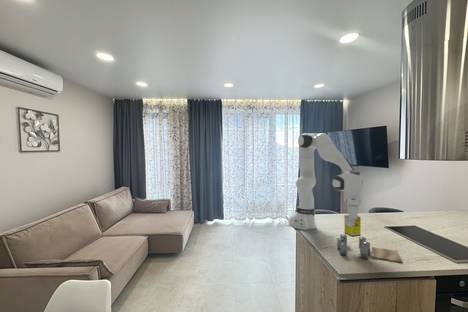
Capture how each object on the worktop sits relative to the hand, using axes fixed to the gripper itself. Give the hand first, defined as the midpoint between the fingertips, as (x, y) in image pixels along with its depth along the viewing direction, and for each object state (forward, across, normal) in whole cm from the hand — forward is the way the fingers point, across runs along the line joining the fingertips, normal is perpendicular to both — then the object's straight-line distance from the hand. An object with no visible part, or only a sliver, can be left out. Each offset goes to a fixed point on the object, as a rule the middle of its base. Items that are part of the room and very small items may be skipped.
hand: (352, 223), depth 130 cm
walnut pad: (+16, -2, +17) cm, 23 cm away
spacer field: (+16, 0, +1) cm, 16 cm away
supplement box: (+7, 0, 0) cm, 7 cm away
